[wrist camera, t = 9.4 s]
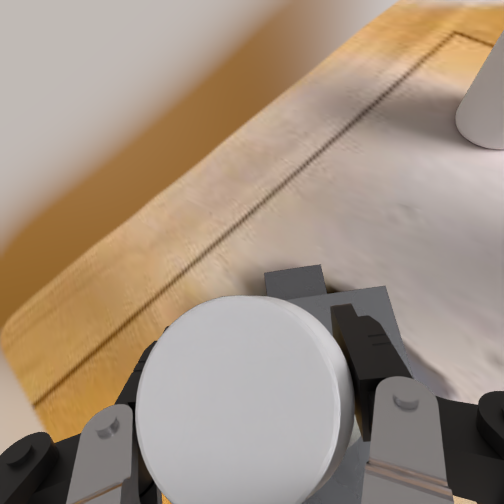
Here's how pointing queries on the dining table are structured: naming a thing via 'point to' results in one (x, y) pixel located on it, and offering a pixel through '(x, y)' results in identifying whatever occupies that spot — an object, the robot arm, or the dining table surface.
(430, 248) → the dining table surface
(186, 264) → the dining table surface
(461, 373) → the dining table surface
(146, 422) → the supplement bottle
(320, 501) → the grey coaster with tab
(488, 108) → the milk bottle
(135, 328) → the dining table surface
